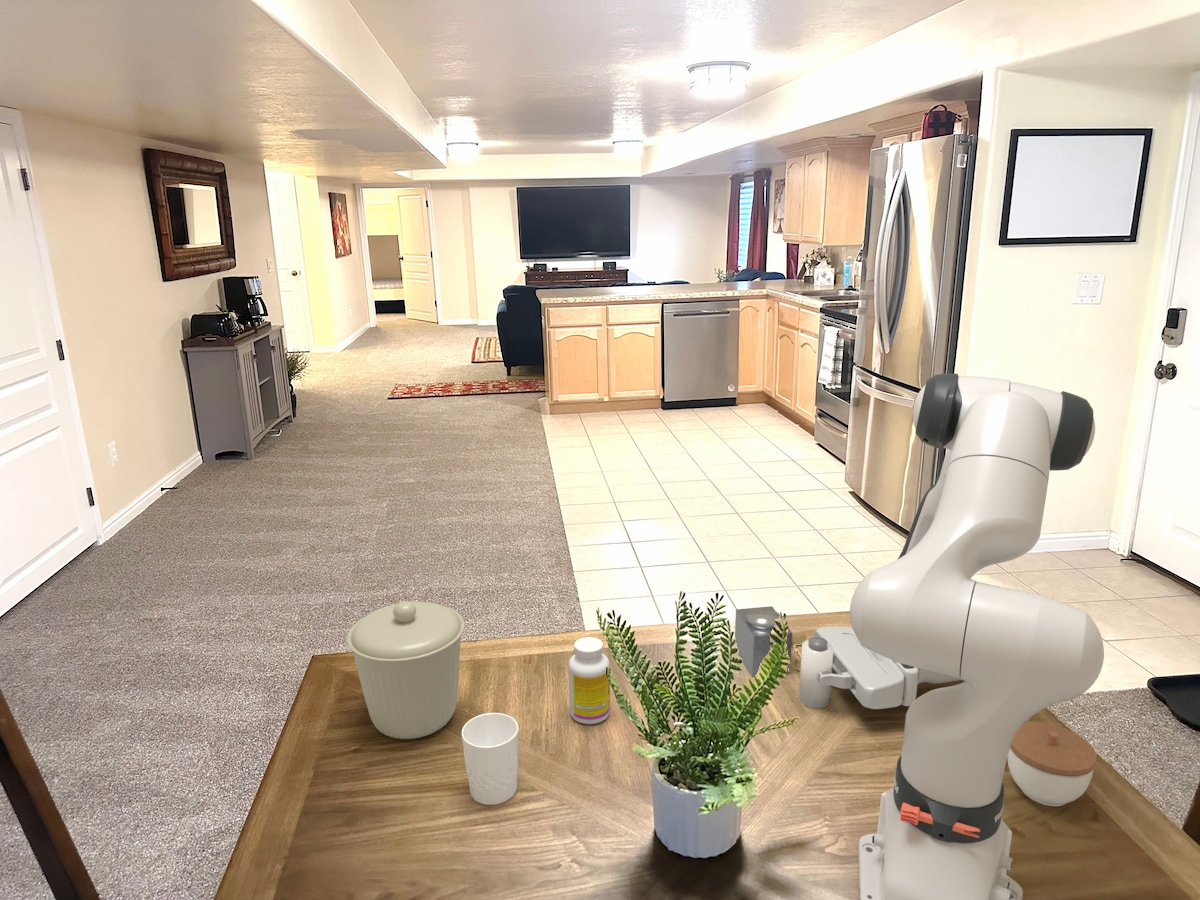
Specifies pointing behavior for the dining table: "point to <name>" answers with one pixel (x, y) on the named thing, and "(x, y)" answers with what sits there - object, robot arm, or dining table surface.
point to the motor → (760, 636)
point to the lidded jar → (1050, 763)
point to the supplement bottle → (589, 682)
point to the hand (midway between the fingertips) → (811, 668)
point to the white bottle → (815, 672)
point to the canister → (408, 666)
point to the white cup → (491, 757)
